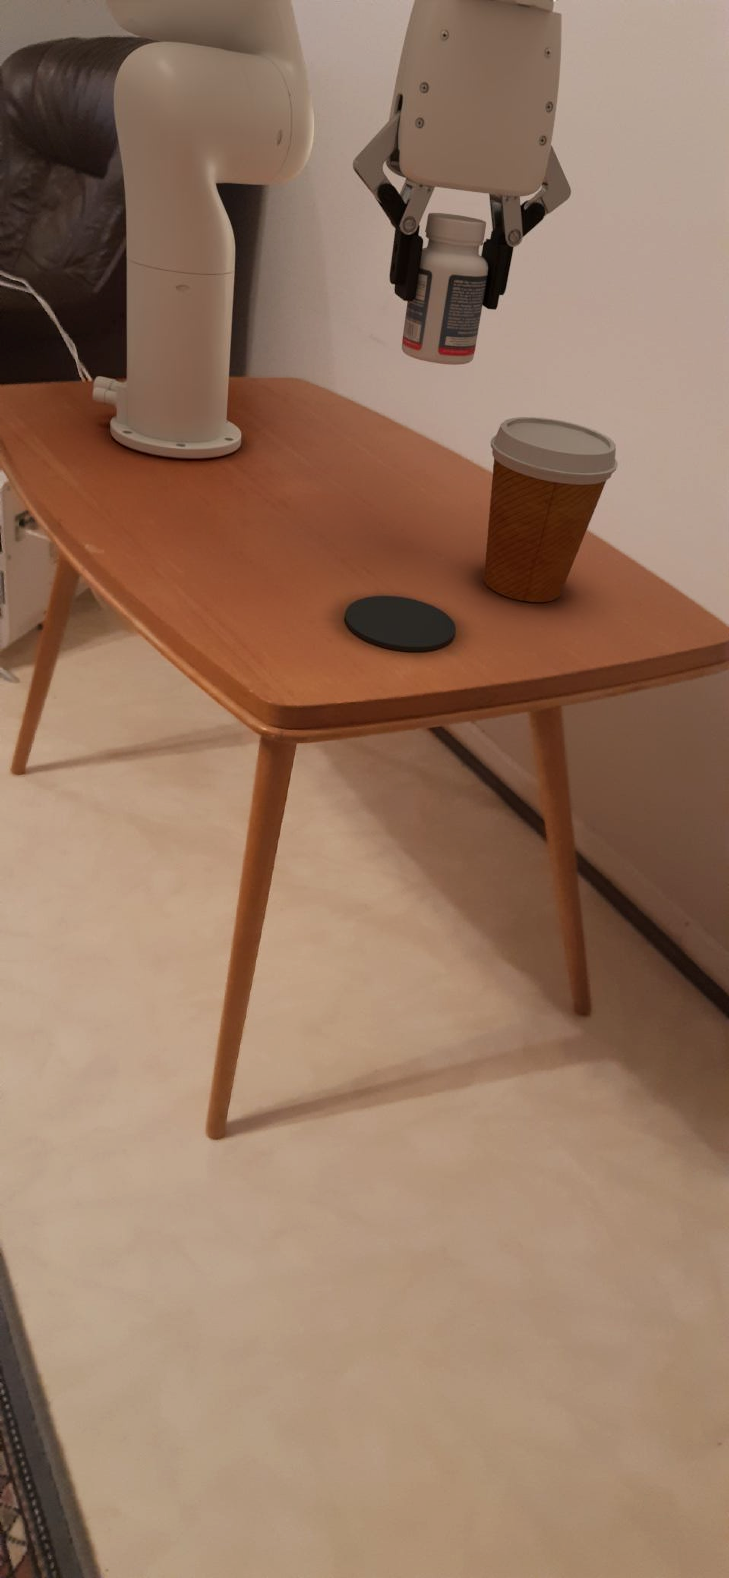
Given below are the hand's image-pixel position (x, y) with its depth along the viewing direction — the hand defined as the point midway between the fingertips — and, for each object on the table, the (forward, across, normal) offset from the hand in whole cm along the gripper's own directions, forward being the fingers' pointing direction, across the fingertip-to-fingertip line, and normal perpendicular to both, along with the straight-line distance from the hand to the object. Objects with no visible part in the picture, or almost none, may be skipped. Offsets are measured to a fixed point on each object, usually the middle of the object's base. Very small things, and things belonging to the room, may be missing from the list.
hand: (445, 298), depth 72 cm
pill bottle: (+4, 0, 0) cm, 4 cm away
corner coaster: (+20, +3, +11) cm, 23 cm away
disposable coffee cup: (+20, -9, +4) cm, 22 cm away
